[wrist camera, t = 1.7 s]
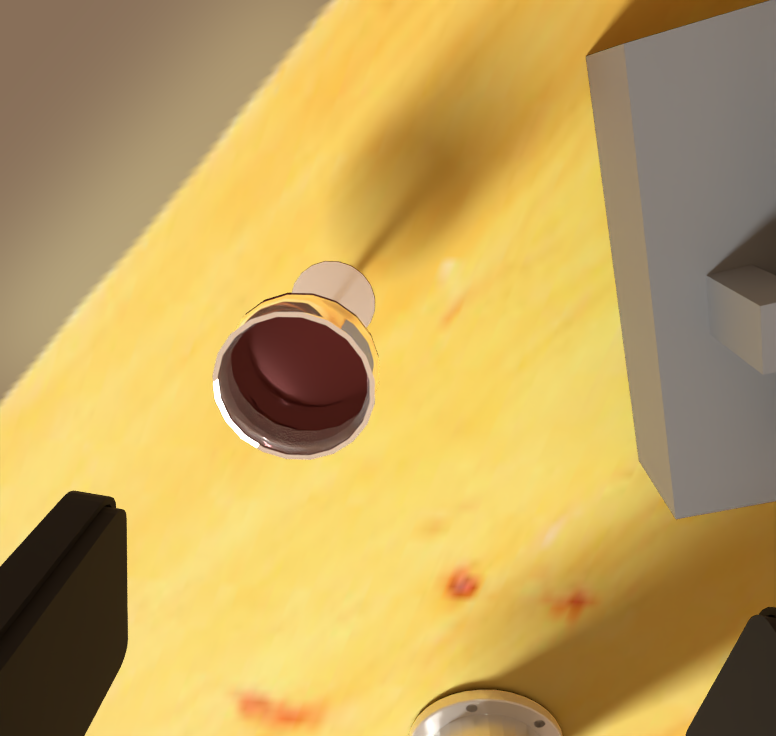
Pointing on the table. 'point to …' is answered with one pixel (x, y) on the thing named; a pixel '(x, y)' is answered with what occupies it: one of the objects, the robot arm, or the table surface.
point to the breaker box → (696, 250)
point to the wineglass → (302, 366)
